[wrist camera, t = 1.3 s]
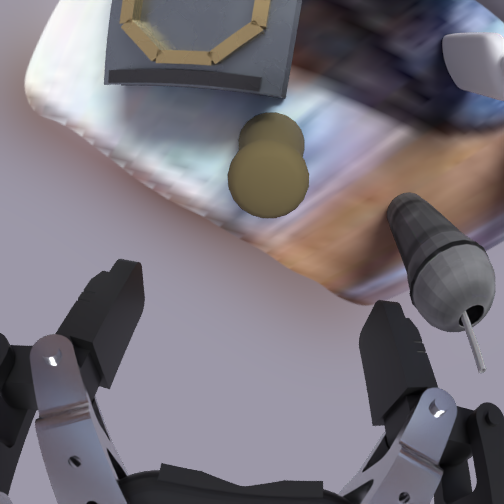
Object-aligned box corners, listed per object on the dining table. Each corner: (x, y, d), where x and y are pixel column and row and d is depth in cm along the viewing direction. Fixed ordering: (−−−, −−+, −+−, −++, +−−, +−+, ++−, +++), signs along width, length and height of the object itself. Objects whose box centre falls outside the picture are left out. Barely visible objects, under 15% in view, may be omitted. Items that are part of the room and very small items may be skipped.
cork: (286, 185, 30) (289, 247, 21) (228, 158, 29) (202, 209, 20) (316, 130, 27) (337, 168, 18) (254, 101, 26) (241, 122, 17)
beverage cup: (429, 242, 32) (508, 390, 15) (370, 242, 33) (428, 410, 16) (441, 181, 28) (559, 317, 11) (378, 178, 29) (475, 333, 12)
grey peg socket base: (309, -50, 17) (318, -80, 11) (285, 97, 25) (287, 107, 20) (144, -54, 17) (110, -76, 11) (124, 84, 25) (85, 94, 19)
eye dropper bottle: (477, 43, 19) (560, 52, 9) (471, 93, 22) (552, 122, 12) (441, 28, 19) (521, 24, 9) (436, 80, 22) (514, 101, 13)
